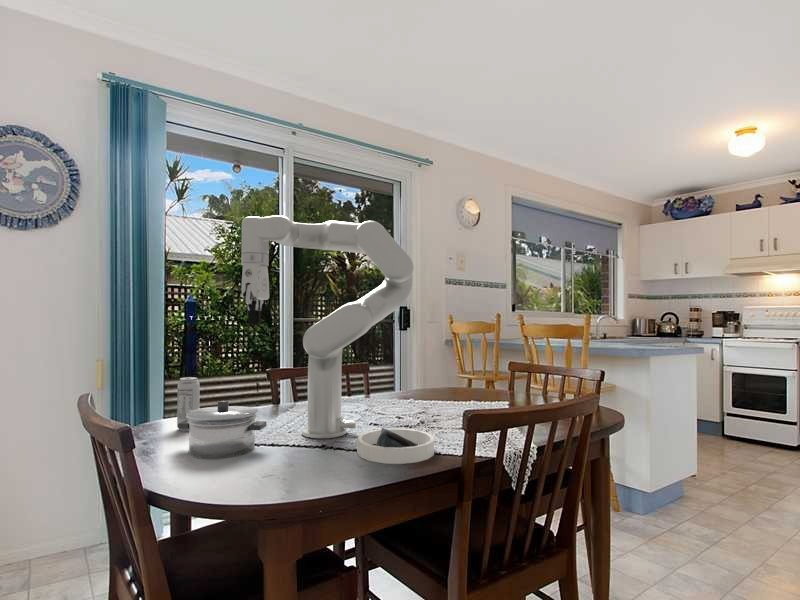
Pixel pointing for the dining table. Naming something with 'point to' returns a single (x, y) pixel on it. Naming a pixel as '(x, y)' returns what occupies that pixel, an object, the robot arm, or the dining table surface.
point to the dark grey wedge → (393, 440)
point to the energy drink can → (187, 398)
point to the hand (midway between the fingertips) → (254, 324)
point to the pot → (221, 437)
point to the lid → (222, 412)
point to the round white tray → (394, 453)
